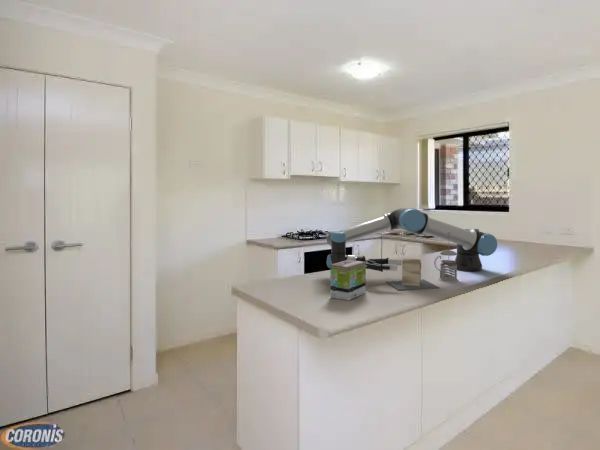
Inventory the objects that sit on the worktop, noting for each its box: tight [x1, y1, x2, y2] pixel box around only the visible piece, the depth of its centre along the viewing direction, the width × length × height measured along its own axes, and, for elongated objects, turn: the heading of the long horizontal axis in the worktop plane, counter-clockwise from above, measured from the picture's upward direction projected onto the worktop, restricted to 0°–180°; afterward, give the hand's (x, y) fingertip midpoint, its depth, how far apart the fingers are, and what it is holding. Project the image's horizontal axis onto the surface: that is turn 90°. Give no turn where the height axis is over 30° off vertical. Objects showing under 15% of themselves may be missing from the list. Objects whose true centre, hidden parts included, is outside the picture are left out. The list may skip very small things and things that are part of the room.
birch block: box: [401, 257, 422, 286], centre depth 175 cm, size 5×8×12 cm, turn 66°
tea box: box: [329, 260, 367, 301], centre depth 161 cm, size 15×10×15 cm, turn 143°
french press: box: [433, 231, 460, 284], centre depth 183 cm, size 10×12×25 cm
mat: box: [385, 278, 440, 291], centre depth 176 cm, size 20×16×1 cm
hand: (399, 265), depth 177 cm, fingers open, 13 cm apart
